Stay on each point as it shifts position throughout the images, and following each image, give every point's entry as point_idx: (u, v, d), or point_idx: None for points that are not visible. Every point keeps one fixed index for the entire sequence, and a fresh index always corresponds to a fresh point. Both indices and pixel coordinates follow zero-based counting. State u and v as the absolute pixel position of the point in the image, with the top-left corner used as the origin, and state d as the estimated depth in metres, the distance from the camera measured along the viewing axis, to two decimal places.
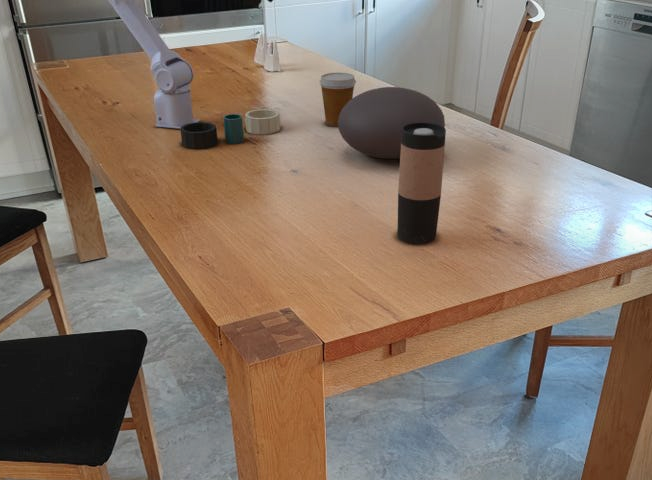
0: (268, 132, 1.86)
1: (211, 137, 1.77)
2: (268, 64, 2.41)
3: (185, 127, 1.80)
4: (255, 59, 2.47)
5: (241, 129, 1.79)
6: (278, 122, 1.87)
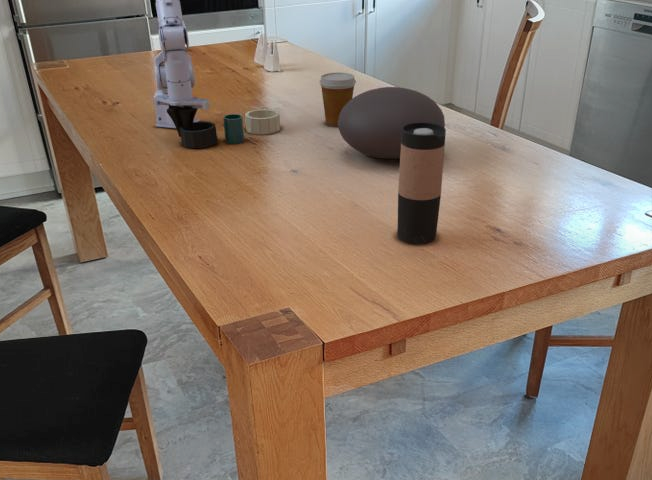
0: (268, 132, 1.86)
1: (211, 136, 1.77)
2: (268, 64, 2.41)
3: None
4: (255, 59, 2.47)
5: (241, 129, 1.79)
6: (278, 122, 1.87)
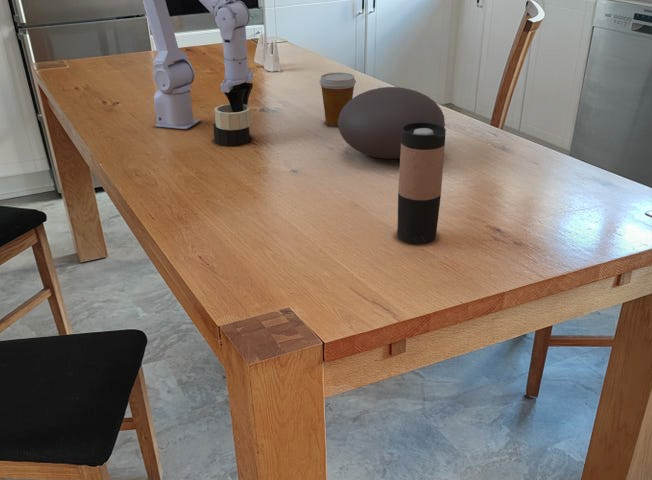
0: (238, 128, 1.76)
1: (244, 134, 1.79)
2: (268, 64, 2.41)
3: None
4: (255, 59, 2.47)
5: None
6: (249, 117, 1.77)
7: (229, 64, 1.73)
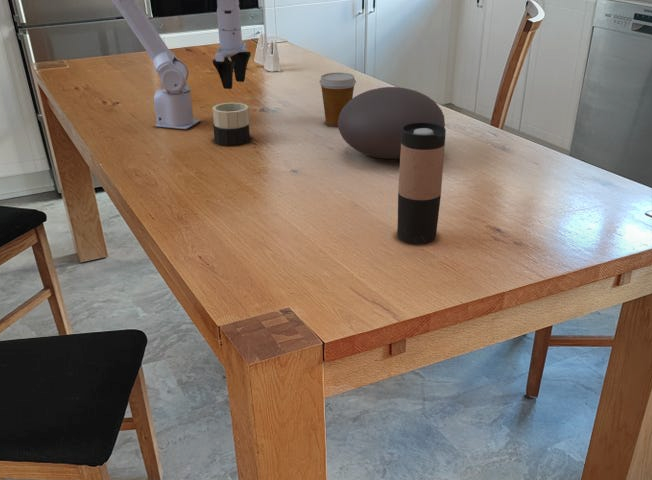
0: (237, 126, 1.77)
1: (244, 134, 1.79)
2: (268, 64, 2.41)
3: None
4: (255, 59, 2.47)
5: None
6: (247, 116, 1.78)
7: (223, 35, 1.80)
